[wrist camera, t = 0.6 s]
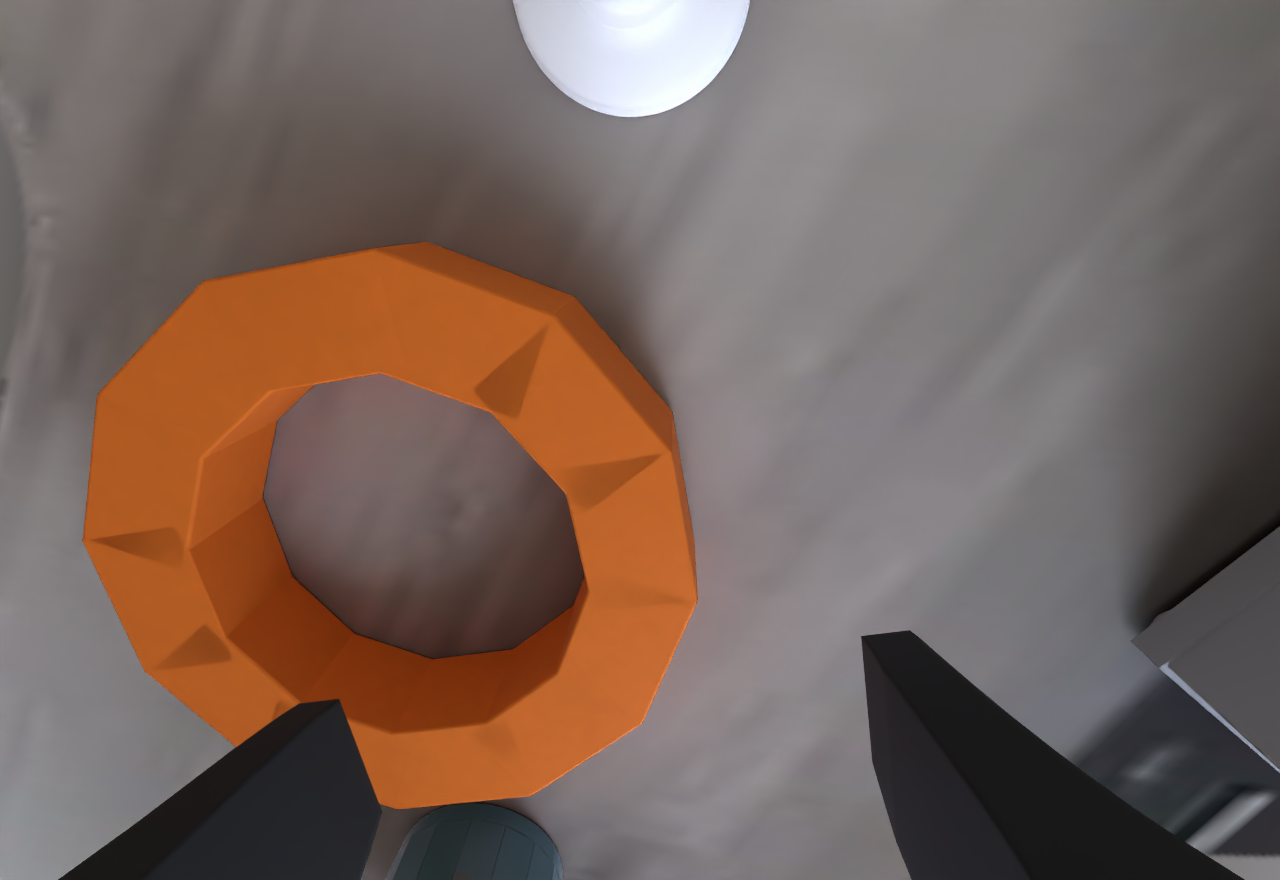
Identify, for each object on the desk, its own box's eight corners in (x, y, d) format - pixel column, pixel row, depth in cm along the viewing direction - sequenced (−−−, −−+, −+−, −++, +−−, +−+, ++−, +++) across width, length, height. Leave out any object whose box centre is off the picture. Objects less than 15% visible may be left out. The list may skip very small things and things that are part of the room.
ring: (281, 745, 21) (218, 828, 18) (95, 304, 17) (-24, 323, 14) (720, 695, 20) (728, 777, 17) (636, 201, 15) (628, 199, 13)
